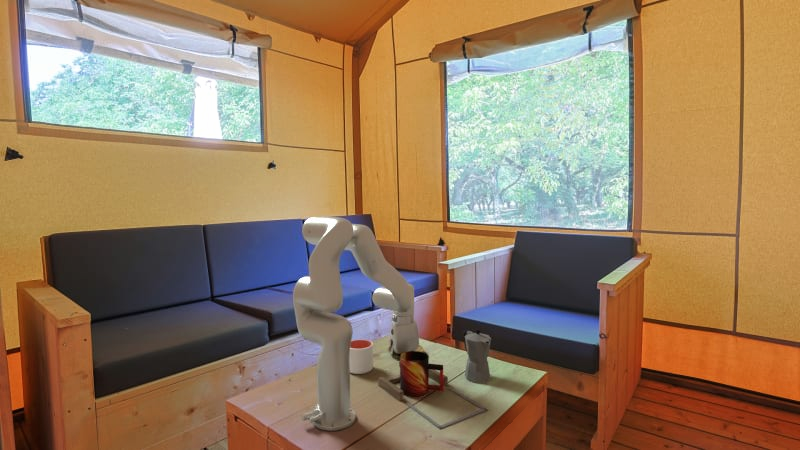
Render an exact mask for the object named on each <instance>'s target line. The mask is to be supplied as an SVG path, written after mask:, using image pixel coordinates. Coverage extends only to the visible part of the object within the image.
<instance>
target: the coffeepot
mask: <svg viewBox="0 0 800 450" xmlns="http://www.w3.org/2000/svg"><path fill="white" fill-rule="evenodd" d="M462 338H463V342H464V347H465V351H466V353H467V356H468V358H467V360H466V365H465V371H464V376H465V380H467V381H469V382H471V383H476V384H483V383H487V382H489V381H490V380H491V373H490V367H489V361H488V357H489V354H490V348H491V341H492V337H490V335H489V334H485V333H481V329H480V328H475V332H473V331H470V330H468V329H465V330H464V331H463V333H462Z"/></svg>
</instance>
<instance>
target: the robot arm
mask: <svg viewBox="0 0 800 450" xmlns="http://www.w3.org/2000/svg"><path fill="white" fill-rule="evenodd" d="M301 229H302V230H301V233H302V236H303V239H304V240H305V242H307V243H308V244H311V245H314V246H315V247H314V248H313V250H312V252H311V254H310V256H309V259H308V273H309V275H305V276H303V277H301V278H300V279H298V280H297V281H296V283H295V285H294V287H293V291H292V301H293V309H294V315H295V321H296V326H297V331H298V333H299V335H300V337H302V339H304V340H305V341H308V342H310V343H312V344H313V343H314V344H316V345H319V346H321V350H320V351H319V355H318V357H317V360H316V375H317V376H316V379H317V380H316V387H317V404H316V405H314V409H312V410H311V411H309V412H306V413H302V414H301V419H302V421H303V422H305V421H309V423H310V424H311V423H313V425H314V426H315V427H316V428H318V429H319V430H322V431H329V432H330V431H340V430H344V429H346V428H348V427H350V426H352V425H353V424H354V423H355V421H356V418H357V415H356V411H355V409H353V408H351V374H350V345H351V341H353V334H354V333H353V331H354V330H353V326H352V323H351V322H350V320H349V319H347V318H346V317H344V316H342V315H340V314H336V312H338V311H339V310H340V309H341V308H342V305H343V300H344V296H343V295H344V294H343V287H342V280H341V279H342V278H341V273H340V272H341V271H340V259H341V256H342V254H343V252H344V251H350V252H351V253H352V256H353V257H354V260H355V261H356V263H357V265H358V268H359V269H360V272H362V274H363V275H364V276H365V277H366V278H368V279H370V280H371V281H372V282H376V283H377V284H379V285H381V286H379V287H377V288H376V289H375V290H374V291H373V292H372V293H373V294H372V297H371V299H372V303H373V304H374V305H375V306H376V307H377V308H380V309H383V310H387V311H392V317H391V318H390V322H391V326H390V330H389V331H390V332H389V346H390V350H391V353H390V352H389V354H390V356H392V357H394V356H397V357H398V358H399V361H398V365H399V368H400V355H401V354H402V353H404V352H408V351H415V350H417V348H418V347H419V345H420V337H419V335H420V334H419V328H418V323H417V321H416V320H415V287H414V285H413V284H411V283H408V281H407V279H406V278H405V277H404V275H402V273H400V272H399V271H398V270H397V269H396V268H395V267H394V266H393V265H392V264H390V263H389V262H388V261H387V260H386V258H385V255H384V254H383V252H382V250H381V248H380V246H379V243H378V241H377V239H376V236H375V234H374V232H373V231H372V230H371V228H370V227H369V226H368V225H364V224H362V223H361V224H360V223H358V224H357V223H352V222H351V221H350V220H348V219H347V218H343V217H338V216H336V217H335V216H318V215H317V216H311V217H309V218H307V219H306V220H305V222H304V223H303V225H302V228H301ZM398 358H397V359H398Z"/></svg>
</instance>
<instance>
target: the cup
mask: <svg viewBox="0 0 800 450" xmlns="http://www.w3.org/2000/svg"><path fill="white" fill-rule="evenodd" d="M373 368H374V343H373V342H372V341H371V340H367V339H355V340H351V345H350V373H351V374H354V375H363V374H368V373H370V372H371V371H372V370H373Z"/></svg>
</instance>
